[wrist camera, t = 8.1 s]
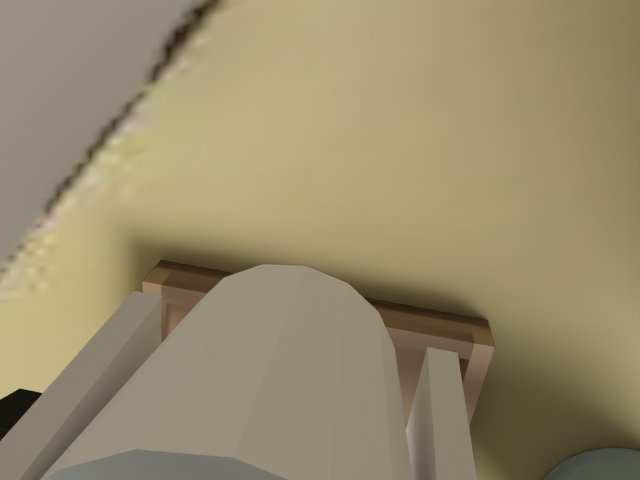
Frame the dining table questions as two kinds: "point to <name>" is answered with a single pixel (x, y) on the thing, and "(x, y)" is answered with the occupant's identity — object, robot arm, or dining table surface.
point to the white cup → (257, 391)
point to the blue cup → (599, 465)
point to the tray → (400, 320)
